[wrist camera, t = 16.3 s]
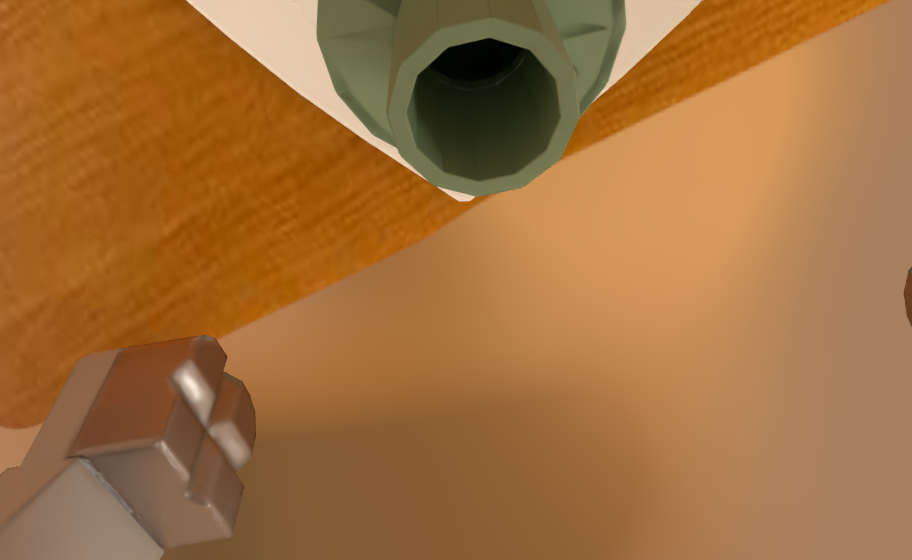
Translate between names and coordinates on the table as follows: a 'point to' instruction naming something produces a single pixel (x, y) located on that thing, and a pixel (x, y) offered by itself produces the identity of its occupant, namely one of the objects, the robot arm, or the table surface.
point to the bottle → (471, 80)
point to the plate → (303, 68)
